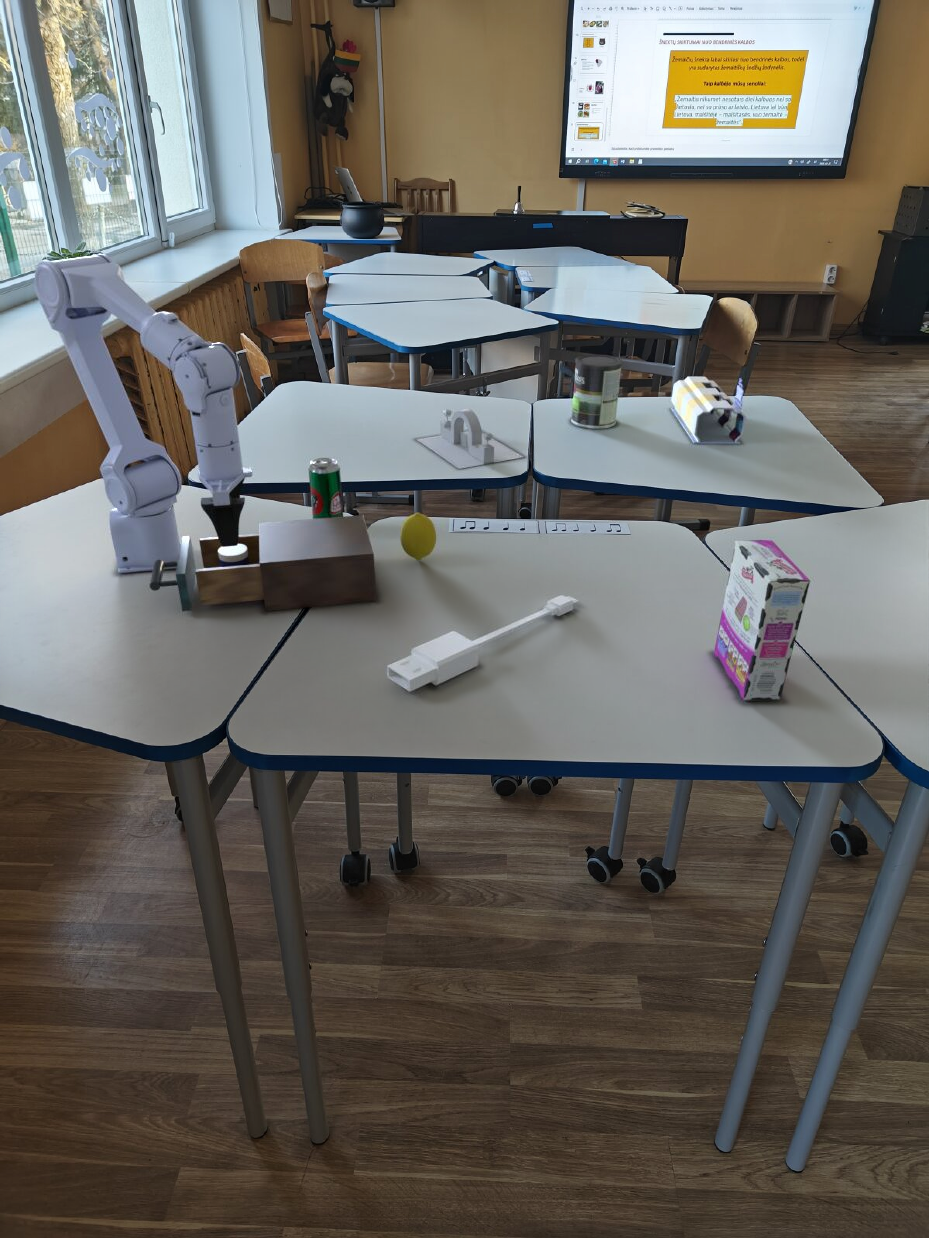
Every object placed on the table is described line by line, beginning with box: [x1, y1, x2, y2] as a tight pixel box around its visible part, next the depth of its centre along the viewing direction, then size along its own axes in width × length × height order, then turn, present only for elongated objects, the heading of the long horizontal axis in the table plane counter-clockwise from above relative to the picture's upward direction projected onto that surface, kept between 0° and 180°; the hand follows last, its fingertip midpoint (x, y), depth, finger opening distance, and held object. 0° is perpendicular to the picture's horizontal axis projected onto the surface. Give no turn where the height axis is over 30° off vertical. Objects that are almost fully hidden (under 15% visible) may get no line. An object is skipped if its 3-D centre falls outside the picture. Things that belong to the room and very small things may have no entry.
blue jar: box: [218, 544, 249, 567], centre depth 123 cm, size 4×4×5 cm
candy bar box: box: [713, 539, 811, 702], centre depth 103 cm, size 11×5×16 cm, turn 5°
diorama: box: [670, 375, 747, 445], centre depth 191 cm, size 25×10×13 cm, turn 179°
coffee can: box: [570, 353, 623, 430], centre depth 193 cm, size 10×10×14 cm
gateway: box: [439, 408, 496, 465], centre depth 178 cm, size 20×2×8 cm, turn 28°
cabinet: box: [258, 514, 377, 612], centre depth 125 cm, size 16×14×8 cm
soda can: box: [308, 457, 344, 519], centre depth 141 cm, size 5×5×12 cm
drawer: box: [149, 533, 264, 612], centre depth 123 cm, size 19×12×6 cm, turn 102°
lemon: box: [400, 512, 437, 561], centre depth 132 cm, size 6×6×8 cm
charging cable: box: [386, 594, 579, 693], centre depth 112 cm, size 5×32×3 cm, turn 133°
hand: (230, 533), depth 121 cm, fingers open, 7 cm apart
